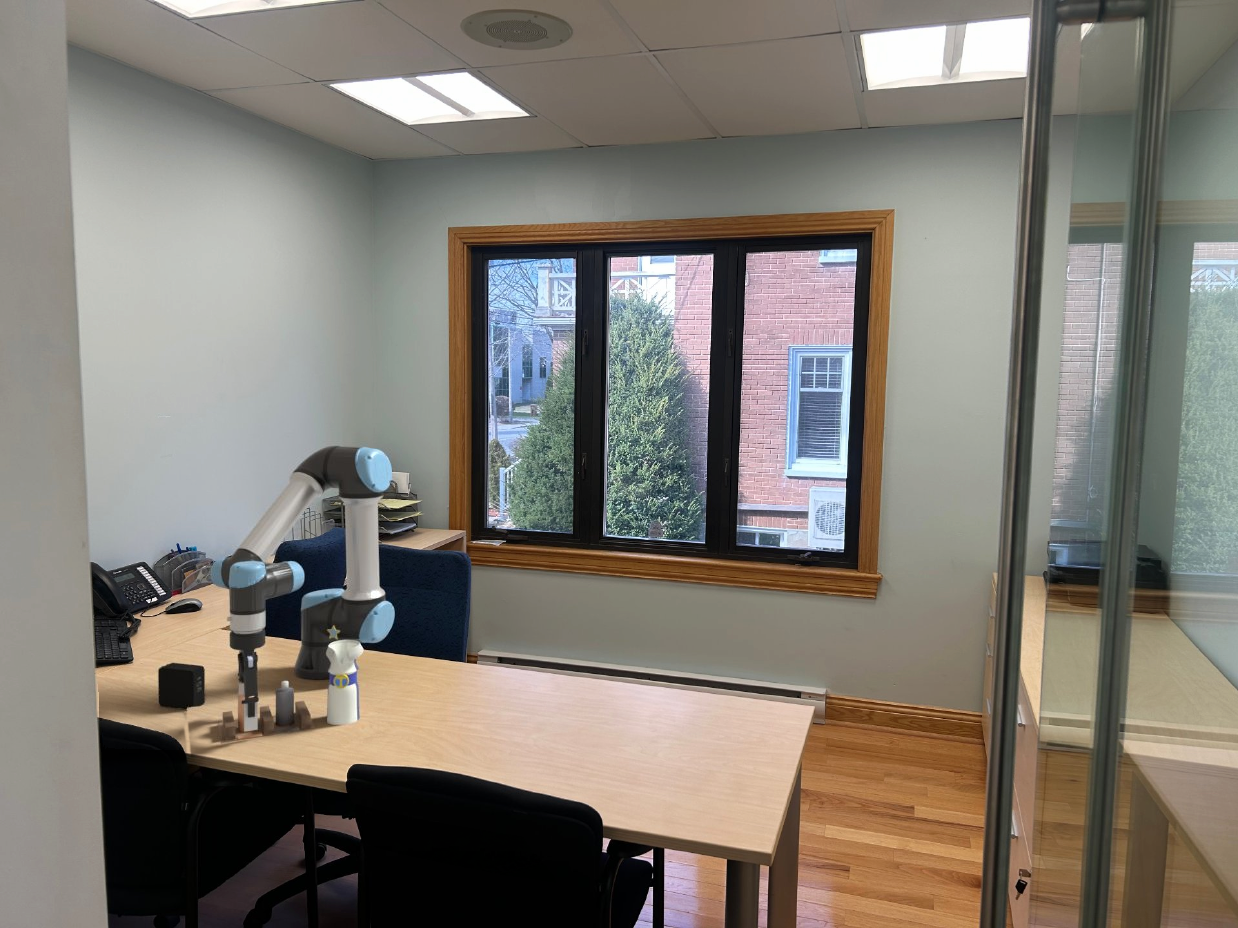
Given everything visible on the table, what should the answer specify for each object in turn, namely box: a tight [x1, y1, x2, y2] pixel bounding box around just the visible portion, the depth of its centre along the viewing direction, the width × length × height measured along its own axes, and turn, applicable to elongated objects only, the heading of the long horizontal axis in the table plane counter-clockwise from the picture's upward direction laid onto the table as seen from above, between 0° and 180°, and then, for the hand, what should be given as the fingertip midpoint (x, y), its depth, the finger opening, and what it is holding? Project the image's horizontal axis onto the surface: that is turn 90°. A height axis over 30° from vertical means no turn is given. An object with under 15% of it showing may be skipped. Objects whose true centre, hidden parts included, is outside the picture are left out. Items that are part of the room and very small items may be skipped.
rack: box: [217, 700, 316, 744], centre depth 195 cm, size 20×12×4 cm, turn 119°
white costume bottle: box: [326, 625, 364, 726], centre depth 199 cm, size 8×9×25 cm
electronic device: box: [157, 662, 206, 710], centre depth 208 cm, size 4×10×10 cm, turn 79°
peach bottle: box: [237, 692, 255, 733], centre depth 192 cm, size 4×4×10 cm
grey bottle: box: [275, 680, 295, 727], centre depth 196 cm, size 4×4×10 cm
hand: (247, 719), depth 193 cm, fingers open, 13 cm apart
